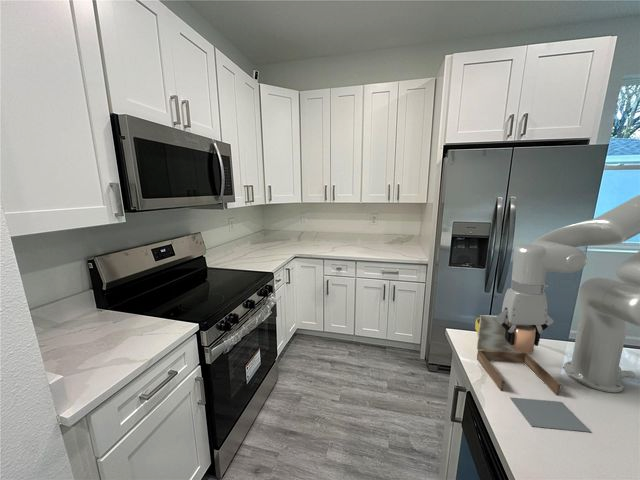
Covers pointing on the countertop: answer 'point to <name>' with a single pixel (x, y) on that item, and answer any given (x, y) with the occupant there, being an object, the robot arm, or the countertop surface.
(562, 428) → the potting mat
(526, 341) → the flowerpot
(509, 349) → the wooden bench
